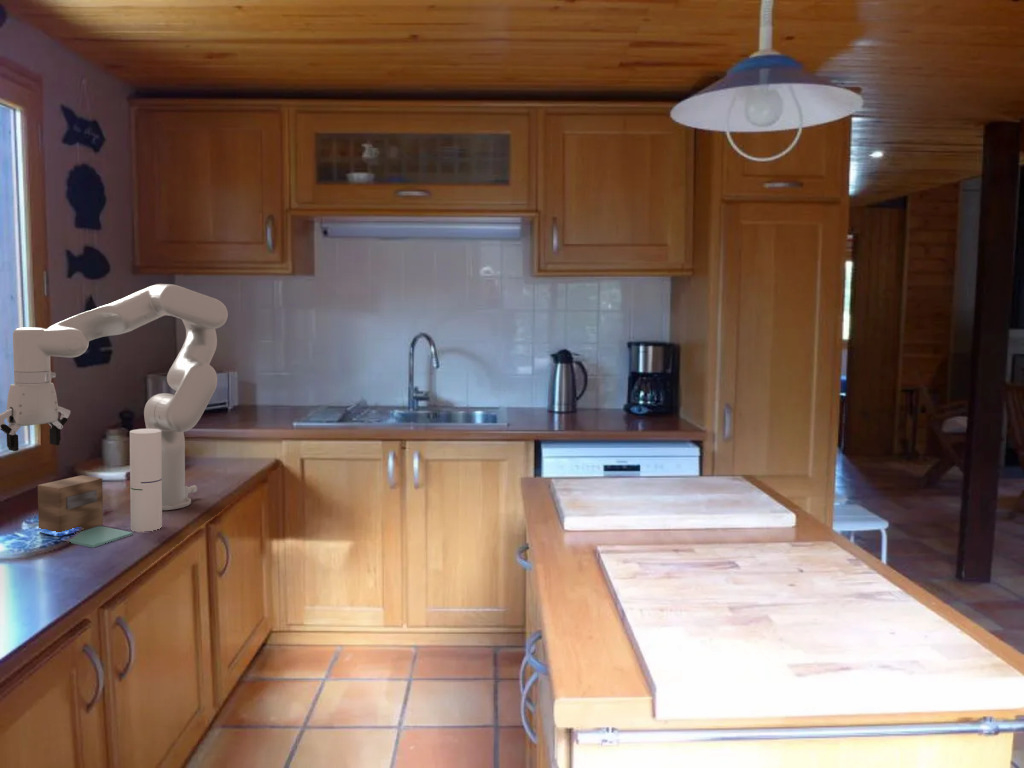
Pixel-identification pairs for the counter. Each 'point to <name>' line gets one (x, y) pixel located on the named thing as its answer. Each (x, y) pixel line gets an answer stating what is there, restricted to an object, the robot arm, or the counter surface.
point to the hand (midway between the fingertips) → (34, 447)
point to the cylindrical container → (145, 479)
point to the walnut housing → (70, 503)
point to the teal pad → (98, 536)
